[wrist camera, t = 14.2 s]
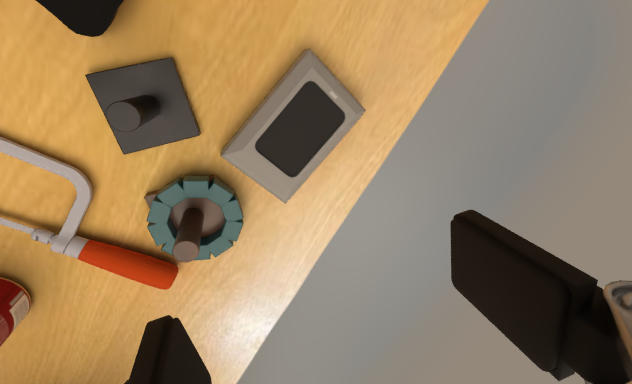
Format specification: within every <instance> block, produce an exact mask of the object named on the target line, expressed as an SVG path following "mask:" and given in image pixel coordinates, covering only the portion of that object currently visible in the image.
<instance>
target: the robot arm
mask: <svg viewBox="0 0 632 384" xmlns="http://www.w3.org/2000/svg"><path fill="white" fill-rule="evenodd" d="M451 274H452V275H451V278H452V283H453V285H454V287H455V288H456V289H457V290H458V291H459V292H460V293H461V294H462V295H463V296H464V297H465V298H466V299H467V300H468V301H469V302H471V303H472V304H473V305H474V306H475V307H476V308H477V309H478V310H479V311H480V312H481V313H482V314H483V315H484V316H485V317H486V318H487V319H488V320H489V321H490V322H491V323H492V324H494V325H495V326H496V327H497V328H498V329H499V330H500V331H501V332H502V333H503V334H504V335H505V336H506V337H507V338H508V339H509V340H510V341H511V342H513V344H515V345H516V346H517V347H518V348H519V349H520V350H521V351H522V352H523V353H524V354H525V355H526V356H527V357H528V358H529V359H530V360H531V361H532V362H534V363H535V364H536V365H537V366H538V367H539V368H540V369H541V370H543V371H546V372H550V373H551V374H552V375H553V376H554V377H555V378H556V379H557V380H558V381H560V380H562V379H565V378H567V377H569V376H571V375H573V374H574V373H575V372H576V373H578V374H579V375H580V376H581V377H582V378H583V379H584V381H585V384H632V281H621V280H620V281H615V282H611V283H609V284H607V285H606V286H605V288H604V290H603V289H602V288H600V287H598V286H597V281H598V280H596V279H595V278H593V277H591V276H590V275H588V274H586V273H584V272H582V271H581V270H579V269H577V268H575V267H574V266H572V265H570V264H568V263H566V262H565V261H563V260H561V259H559V258H558V257H556V256H554V255H552V254H551V253H549V252H547V251H545V250H544V249H542V248H540V247H538V246H536V245H535V244H533V243H531V242H529V241H528V240H526V239H524V238H522V237H520V236H519V235H517V234H515V233H513V232H511V231H510V230H508V229H506V228H505V227H503V226H501V225H499V224H498V223H496V222H494V221H492V220H490V219H489V218H487V217H485V216H483V215H482V214H480V213H478V212H476V211H474V210H467V211H464V212H462V213H459V214H456V215H455V216H454V218H453V220H452V221H451ZM124 384H212V382H211V377H210V374H209V372H208V370H207V368H206V366H205V365H204V363H203V361H202V359H201V357H200V356H199V354H198V352H197V350H196V348H195V347H194V345H193V343H192V341H191V339H190V338H189V336H188V334H187V332H186V330H185V329H184V327H183V325H182V323H181V321H180V320H179V318H174V319H173V318H172V317H171V316H170V315H167V316H164V317H162V318H159V319H156V320H153V321H150V322H148V323H147V325H146V328H145V331H144V334H143V337H142V340H141V343H140V346H139V350H138V353H137V356H136V359H135V362H134V365H133V368H132V372H131V375H130V378H129V380H127V381H126V382H125V383H124Z"/></svg>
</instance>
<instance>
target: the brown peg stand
mask: <svg viewBox="0 0 632 384" xmlns="http://www.w3.org/2000/svg"><path fill="white" fill-rule="evenodd" d="M214 178H216V179H217V177H216V175H212V176H209V184H210V183H211V181H212V180H213V179H214ZM159 191H160V190H158V191H155V192H151V193H148V194H146V195H145V199H146V202H147V204H148V206H149V208H151V205H152V201H153V199H154V198H155V196H156V194H158V193H159ZM170 218H171V220H172V222H173V224H174V227H175V229H176V230H177V231H178V232H177V236H176V239H175V243H174V246H173V250H172V253H173V256H174V257H175V259H177V260H178V261H180V262H190V261H193V260H194V259H196V258H197V256H198V255H199V250H200V243H201V238H204V237H209V236H211V235H212V234H214V233H215V232H217V231H218V230H220V229H221V227H222V225H223V222H224V219H225V217H224V214H223V212H222V209H221V207H220V206H219V205H217V204H215V203H214V202H212V201H210V200H209V199H207V198H186V199H185V200H183V201H181V202H180V203H178V204H177V205H175V206H174V207H172V210H171V214H170Z"/></svg>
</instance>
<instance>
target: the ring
mask: <svg viewBox="0 0 632 384" xmlns="http://www.w3.org/2000/svg"><path fill="white" fill-rule="evenodd" d="M186 198H207V199H209V200H210V201H212V202H214V203H215V204H217V205H219V206H220V207H221V209H222V212H223V214H224V217H225V219H224V222H223V225H222V227H221V229H220V230H218V231H217V232H215V233H214V234H212V235H211V236H209V237H204V238H201V243H200V250H199V255H198V256H197V258H196V259H194V260H206V259H210V256H211V253H212V254H213V255H214V256H215V257H217V256H218V255H220V254H221V253H223V252H224V251H226V250H227V249H229V248H230V247H232V246H233V241H237V239H238V236H239V234H240V231H241V229H242V226H243V211H242V208H241V206H240V203H239V200H238V197H237V194H233V189H231V188H230V187H228V186H227V185H225V184H224V183H222V182H221V181H219V180H218V179H216V178H214V179H213V180H212V181H211V183H210V184H209V176H185V177H184V180H183V181H182V180H181V179H180V178H177V179H176V180H174V181H172V182H171V183H169V184H168V185H166V186H165V187H163V188H162V189H160V191H159V193H158V194H156V196H155V198H154V199H153V201H152V205H151V208H150V211H149V215H148V218H147V222H149V224H148V226H147V227H148V229H149V231H150V233H151V235H152V237H153V239H154V241H155V243H156V245H157V246H158V245H161V244H163V246H162V249H161V250H163V251H165V252H167V253H169V254H171V255H173V253H172V250H173V246H174V243H175V239H176V236H177V232H178V231H177V230H176V229H175V227H174V224H173V222H172V220H171V218H170V214H171V210H172V207H174V206H175V205H177V204H178V203H180V202H181V201H183V200H185V199H186Z"/></svg>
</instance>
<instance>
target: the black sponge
mask: <svg viewBox="0 0 632 384" xmlns="http://www.w3.org/2000/svg"><path fill="white" fill-rule="evenodd" d="M36 1H37V2H39V3H40V4H41V5H42V6H44V7H45V8H46V9H47V10H48V11H50V12H51V13H52V14H53V15H54V16H56V17H57V18H58V19H59V20H60V21H61V22H62V23H63V24H65V25H66V26H67V27H68V28H69V29H70V30H72V31H73V32H75V33H76V34H80V35H85V36H90V37H95V36H100V35H102V34H103V33H104V32H105V31H106V30H107V28H108V27H109V26H110V25H111V23H112V21H113V20H114V18H115V15H116V13H117V10H118V8H119V6H120V5H121V3H122V2H123V1H124V0H36Z"/></svg>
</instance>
